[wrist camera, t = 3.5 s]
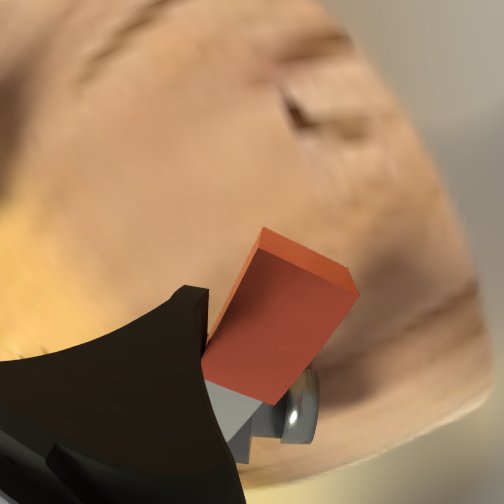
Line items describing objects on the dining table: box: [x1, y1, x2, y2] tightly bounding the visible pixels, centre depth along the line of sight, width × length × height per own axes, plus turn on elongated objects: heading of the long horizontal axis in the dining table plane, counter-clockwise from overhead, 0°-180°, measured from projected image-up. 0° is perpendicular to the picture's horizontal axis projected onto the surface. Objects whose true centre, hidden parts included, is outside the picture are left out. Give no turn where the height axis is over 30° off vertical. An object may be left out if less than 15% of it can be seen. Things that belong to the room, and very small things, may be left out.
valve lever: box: [201, 227, 359, 442], centre depth 11 cm, size 13×3×2 cm, turn 155°
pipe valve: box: [207, 334, 319, 464], centre depth 16 cm, size 6×13×5 cm, turn 88°
